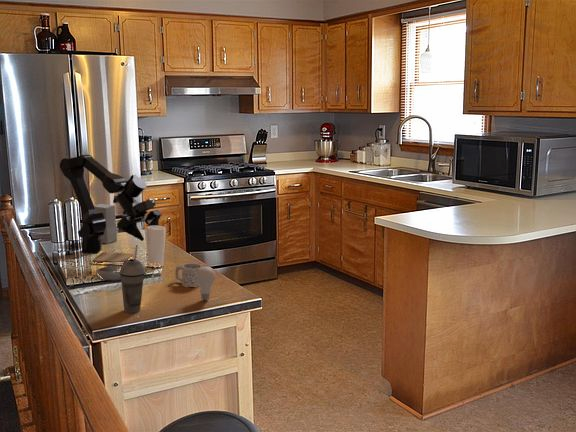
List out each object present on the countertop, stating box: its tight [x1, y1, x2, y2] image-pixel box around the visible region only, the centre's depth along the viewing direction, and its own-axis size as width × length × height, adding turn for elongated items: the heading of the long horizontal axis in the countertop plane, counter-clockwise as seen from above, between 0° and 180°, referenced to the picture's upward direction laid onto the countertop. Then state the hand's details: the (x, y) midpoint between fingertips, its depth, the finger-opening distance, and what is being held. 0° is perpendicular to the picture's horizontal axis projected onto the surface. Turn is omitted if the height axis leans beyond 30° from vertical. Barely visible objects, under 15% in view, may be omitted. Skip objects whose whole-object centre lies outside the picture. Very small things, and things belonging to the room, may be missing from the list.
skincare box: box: [93, 203, 118, 244], centre depth 252 cm, size 8×7×16 cm
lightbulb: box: [196, 266, 217, 301], centre depth 186 cm, size 6×6×11 cm
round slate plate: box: [96, 265, 121, 282], centre depth 208 cm, size 13×13×2 cm
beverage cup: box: [120, 244, 146, 314], centre depth 173 cm, size 7×7×20 cm
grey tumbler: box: [146, 225, 167, 267], centre depth 219 cm, size 7×7×15 cm
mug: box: [174, 263, 203, 288], centre depth 202 cm, size 10×7×7 cm
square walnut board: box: [92, 251, 134, 263], centre depth 226 cm, size 12×12×2 cm
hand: (151, 238), depth 220 cm, fingers open, 9 cm apart
